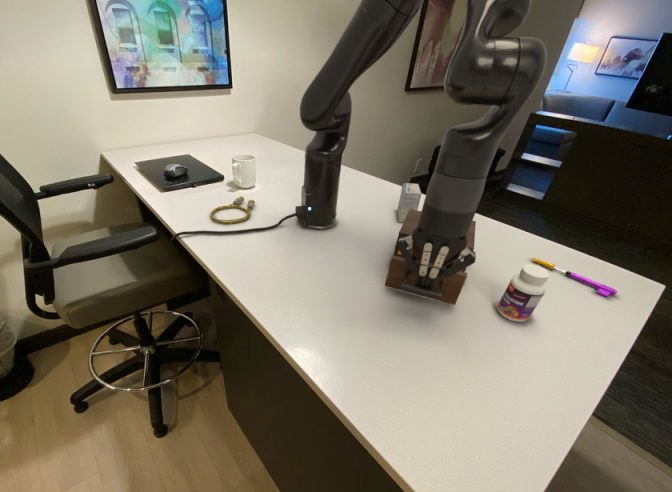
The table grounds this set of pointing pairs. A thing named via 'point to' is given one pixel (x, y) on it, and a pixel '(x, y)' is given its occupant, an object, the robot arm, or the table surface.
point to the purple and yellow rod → (582, 279)
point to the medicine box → (408, 200)
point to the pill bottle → (523, 293)
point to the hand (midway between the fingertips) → (422, 290)
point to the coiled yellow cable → (237, 201)
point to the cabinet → (412, 223)
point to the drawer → (442, 287)
